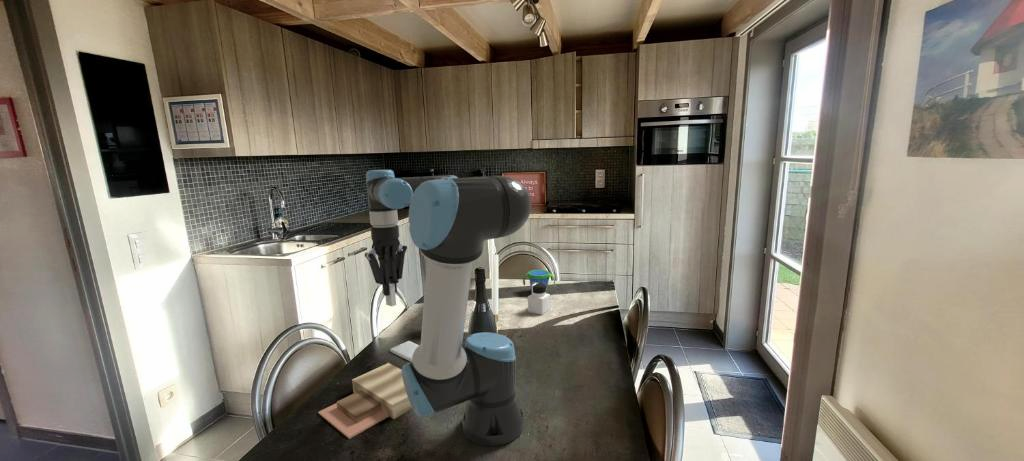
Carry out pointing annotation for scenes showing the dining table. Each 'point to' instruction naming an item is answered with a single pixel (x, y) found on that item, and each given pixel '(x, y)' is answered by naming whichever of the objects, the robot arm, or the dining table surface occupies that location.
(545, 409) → the dining table surface
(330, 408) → the mat
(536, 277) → the snack cup
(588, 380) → the dining table surface
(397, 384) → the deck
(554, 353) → the dining table surface
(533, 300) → the medicine bottle
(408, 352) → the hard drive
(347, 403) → the wooden block
